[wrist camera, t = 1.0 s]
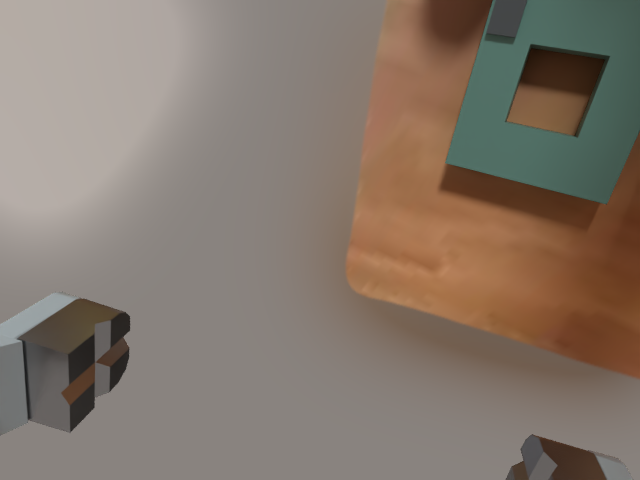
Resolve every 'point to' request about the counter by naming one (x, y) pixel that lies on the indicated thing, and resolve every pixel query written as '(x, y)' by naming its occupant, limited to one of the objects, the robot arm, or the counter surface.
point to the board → (544, 145)
